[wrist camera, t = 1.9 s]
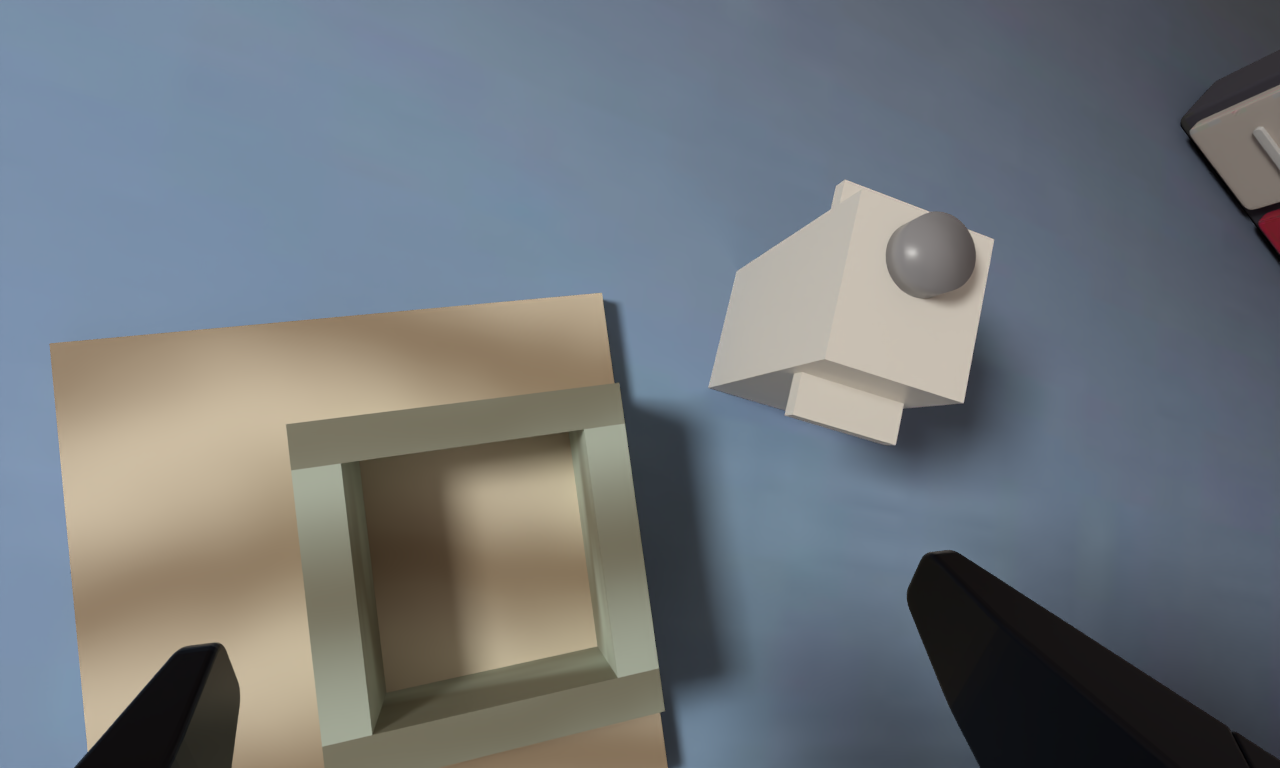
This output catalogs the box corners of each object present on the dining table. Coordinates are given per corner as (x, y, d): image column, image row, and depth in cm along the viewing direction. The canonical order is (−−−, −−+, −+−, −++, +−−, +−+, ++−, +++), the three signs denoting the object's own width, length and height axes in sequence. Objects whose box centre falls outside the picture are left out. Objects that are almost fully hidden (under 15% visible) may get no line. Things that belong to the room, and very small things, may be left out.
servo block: (800, 448, 26) (977, 449, 17) (700, 420, 25) (831, 404, 16) (838, 274, 27) (1024, 186, 18) (743, 241, 26) (889, 132, 17)
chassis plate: (661, 763, 24) (699, 825, 20) (118, 909, 20) (32, 1022, 16) (597, 297, 24) (621, 269, 21) (65, 347, 21) (-29, 323, 17)
